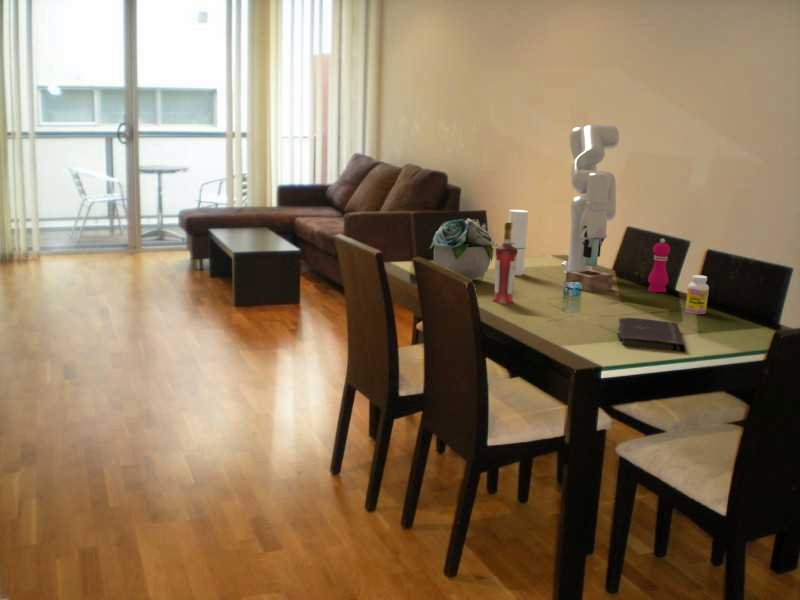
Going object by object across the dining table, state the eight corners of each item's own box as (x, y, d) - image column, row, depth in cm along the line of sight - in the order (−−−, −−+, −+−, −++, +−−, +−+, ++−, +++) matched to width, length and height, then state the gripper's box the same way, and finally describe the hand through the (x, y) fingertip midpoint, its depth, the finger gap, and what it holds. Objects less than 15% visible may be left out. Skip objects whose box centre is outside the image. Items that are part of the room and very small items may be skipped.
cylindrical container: (510, 271, 365) (515, 209, 359) (526, 274, 361) (531, 211, 355) (501, 273, 359) (506, 210, 353) (517, 276, 355) (522, 212, 349)
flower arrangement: (501, 290, 329) (506, 223, 324) (434, 290, 325) (437, 222, 320) (484, 276, 353) (488, 213, 348) (421, 275, 349) (424, 212, 343)
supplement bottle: (684, 314, 305) (688, 277, 302) (685, 310, 311) (689, 273, 308) (705, 317, 303) (709, 279, 300) (705, 312, 309) (710, 275, 306)
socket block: (565, 287, 339) (566, 271, 338) (586, 284, 347) (587, 268, 345) (590, 293, 330) (592, 277, 329) (611, 290, 338) (613, 274, 336)
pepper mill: (662, 294, 334) (668, 240, 329) (643, 291, 338) (649, 238, 334) (670, 291, 340) (676, 238, 335) (651, 288, 344) (657, 236, 339)
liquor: (493, 301, 312) (498, 220, 305) (514, 303, 310) (520, 221, 304) (490, 306, 305) (496, 223, 298) (512, 308, 303) (518, 224, 297)
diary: (677, 337, 277) (679, 321, 276) (684, 360, 253) (686, 343, 252) (614, 331, 281) (616, 316, 279) (616, 353, 257) (617, 336, 256)
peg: (582, 264, 336) (584, 237, 334) (589, 263, 339) (592, 237, 337) (591, 266, 333) (594, 239, 331) (599, 265, 336) (601, 238, 333)
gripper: (602, 205, 339) (597, 253, 343) (572, 206, 329) (568, 256, 333) (618, 207, 334) (614, 256, 338) (589, 209, 323) (584, 260, 327)
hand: (591, 256), depth 335 cm, fingers closed on peg, 4 cm apart
